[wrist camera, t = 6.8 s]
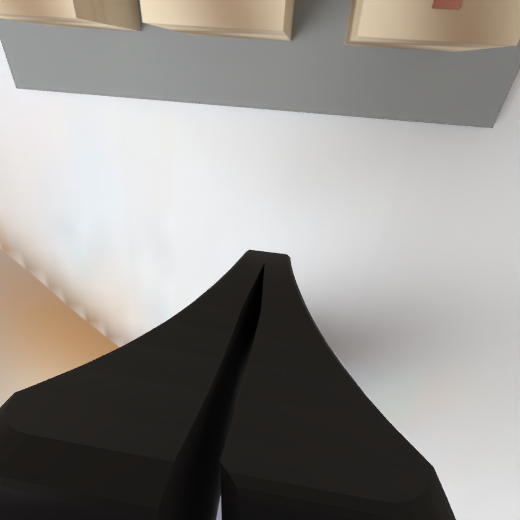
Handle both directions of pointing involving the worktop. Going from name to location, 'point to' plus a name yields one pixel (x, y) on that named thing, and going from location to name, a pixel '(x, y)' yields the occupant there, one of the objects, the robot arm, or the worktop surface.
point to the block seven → (75, 13)
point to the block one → (434, 24)
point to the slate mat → (267, 69)
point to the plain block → (223, 17)
